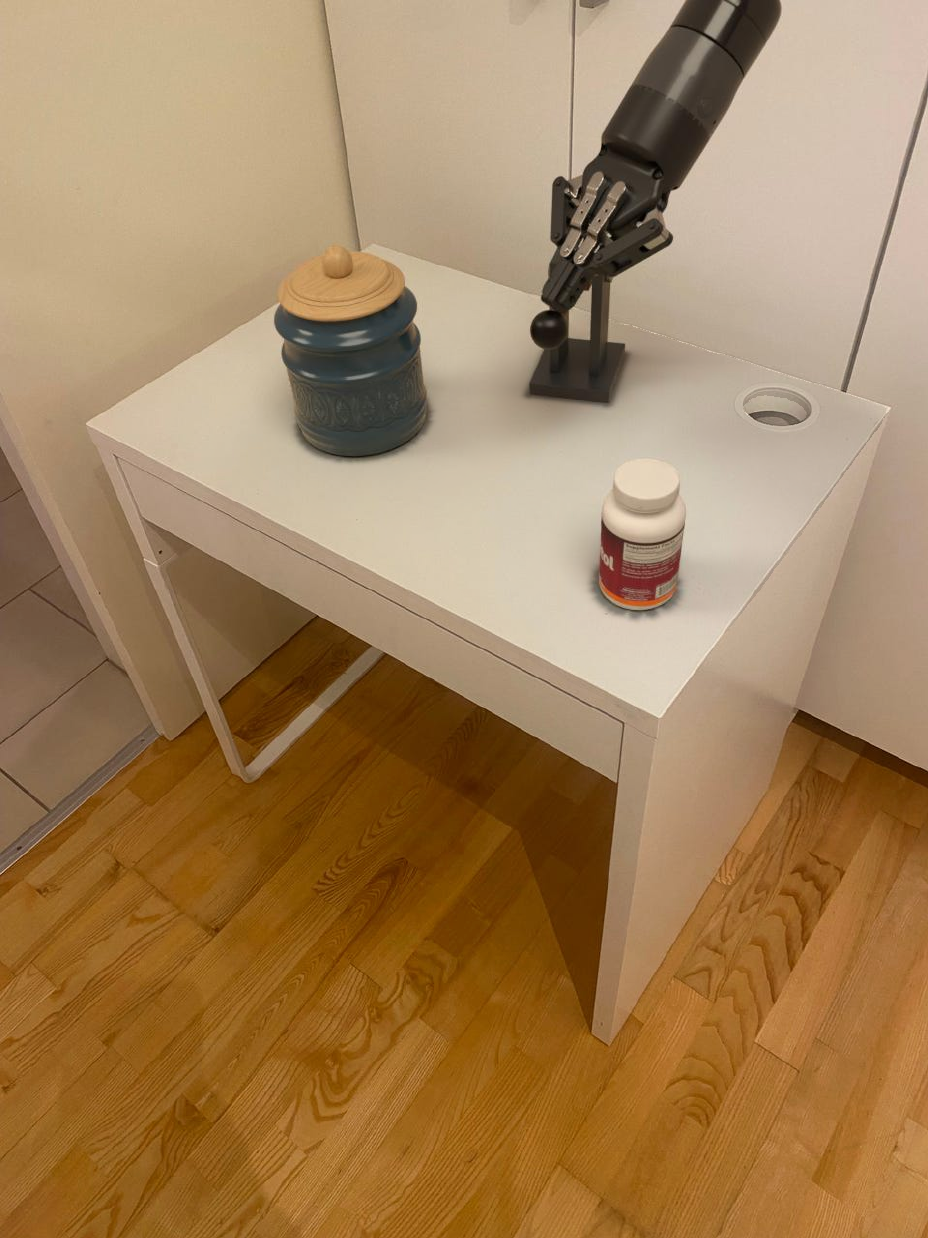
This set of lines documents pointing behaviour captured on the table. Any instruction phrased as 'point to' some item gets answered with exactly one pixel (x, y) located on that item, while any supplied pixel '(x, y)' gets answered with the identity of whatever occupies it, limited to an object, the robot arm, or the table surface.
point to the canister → (352, 352)
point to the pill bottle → (641, 535)
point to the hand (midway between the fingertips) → (551, 307)
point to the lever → (550, 327)
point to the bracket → (582, 354)
